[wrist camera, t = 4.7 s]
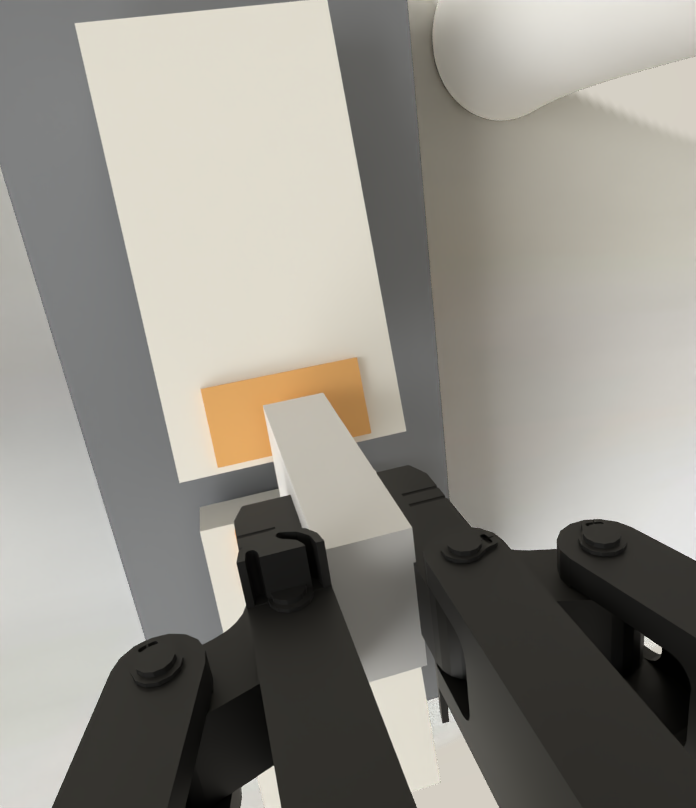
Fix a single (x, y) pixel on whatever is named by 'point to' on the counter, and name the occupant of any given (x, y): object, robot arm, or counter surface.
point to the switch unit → (117, 301)
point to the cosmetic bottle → (551, 47)
